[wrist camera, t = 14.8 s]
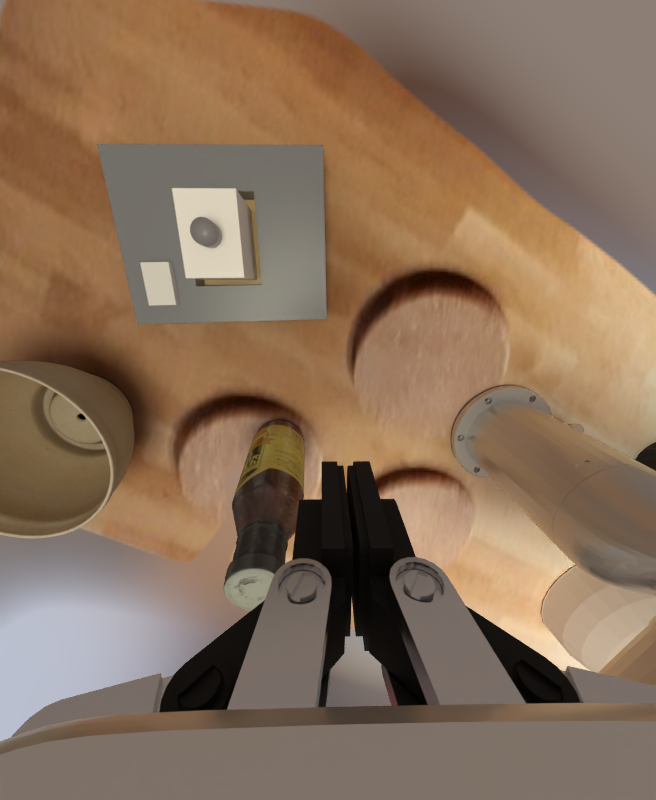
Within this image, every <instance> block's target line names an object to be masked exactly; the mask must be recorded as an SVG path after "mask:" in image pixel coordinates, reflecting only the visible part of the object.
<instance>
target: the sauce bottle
mask: <svg viewBox="0 0 656 800" xmlns="http://www.w3.org/2000/svg"><path fill="white" fill-rule="evenodd" d="M304 459H305V447H304V442H303V437H302V435H301V433H300V431H299V429H298V428H297V427H296V426H294V425H293V424H291V423H289V422H287V421H282V420H276V421H271V422H269V423H266V424H265V425H263V426H262V427H261V428H260V430H259V431H258V433H257V434H256V435H255V437H254V438H253V441H252V444H251V447H250V450H249V453H248V456H247V459H246V461H245V465H244V468H243V471H242V474H241V477H240V480H239V483H238V486H237V489H236V492H235V496H234V499H233V502H232V509H233V514H234V520H235V525H236V530H237V536H238V538H237V542H236V545H237V546H236V549H235V553H234V557H233V561H232V562H231V563H230V565H229V567H228V569H227V573H226V577H225V583H224V593H225V596H226V597H227V599H228V600H229V601H230V602H231V603H232V604H234V605H235V606H237V607H239V608H240V609H243V610H247V611H252V610H253V609H254V608H255V607H257V606H258V605H259V604H260V603H262V602H263V601H264V600H265V599H266V596H267V593H268V590H269V587H270V584H271V581H272V579H273V577H274V575H275V573H276V571H277V570H278V569H279V568H280V567H281V566H282V565H284V564H285V555H286V550H287V546H288V540H289V539H290V538H291V537H292V535H293V534H294V533H295V532H296V523H297V514H298V505H299V500H303V498H304Z"/></svg>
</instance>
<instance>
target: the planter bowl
mask: <svg viewBox="0 0 656 800" xmlns="http://www.w3.org/2000/svg"><path fill="white" fill-rule="evenodd" d="M79 414H83V415H84V416H85V418H86V419H85V420H82V419H80V418H79V417H78V415H79ZM133 448H134V427H133V413H132V409H131V406H130V404H129V402H128V400H127V399H126V397H125V396H124V394H123V393H122V392H121V391H120V390H119V389H118V388H117V387H116V386H114V385H113V384H112V383H110V382H109V381H107V380H105V379H103V378H101V377H98V376H95V375H92V374H89V373H86V372H84V371H81V370H79V369H75V368H72V367H69V366H65V365H60V364H56V363H49V362H41V361H27V360H15V361H1V362H0V535H5V536H11V537H18V538H47V537H53V536H58V535H62V534H66V533H69V532H72V531H74V530H76V529H78V528H80V527H82V526H84V525H85V524H87V523H88V522H89V521H91V520H92V519H93V518H94V517H96V516H97V514H98V513H99V512H100V511H101V510H102V509H103V508H104V506H105V505H106V504H107V502H108V501H109V499H110V497H111V496H112V493H113V492H114V491H115V489H116V488H117V486H118V485H119V484H120V482H121V480H122V479H123V477H124V475H125V473H126V471H127V469H128V466H129V464H130V461H131V458H132V454H133Z"/></svg>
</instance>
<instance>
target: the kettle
mask: <svg viewBox="0 0 656 800" xmlns="http://www.w3.org/2000/svg"><path fill="white" fill-rule="evenodd" d="M541 615H542V619H543V623H544V625H545V626H546V627H547V628H548V630H549V631H550V632H551V633H552V634H553V635H554V636H555V637H556V639H557V640H558V641H559V642H560V644H561V645H562V646H563V647H564V648H565V650H566V651H567V652H568V653H569V654H570V655H571V656H572V657H573V658H574V659H576V660H577V661H578V662H580V663H581V664H582V665H583V666H585V667H586V668H587V669H589V670H591V671H592V672H596V673H598V672H599V671H600V670H601V669H602V668H603V667H604V666H605V665H606V664H607V663H608V662H610V661H611V660H612V659H613V658H614V657H615V656H616V655H617V654H618V653H619V652H620V651H621V650H622V649H623V648H624V647H625V646H626V645H628V644H629V643H630V642H631V641H632V640H633V639H634V638H635V637H636V636H637V635H638V634H639V633H640V632H641V631H642V630H643V629H645V628H646V627H647V626H648V625H649V622H650V620H651V619H652V618H653V617H654V616H655V615H656V596H654V595H649V594H644V593H639V592H634V591H630V590H626V589H623V588H619V587H616V586H613V585H610V584H607V583H605V582H602V581H600V580H598V579H596V578H594V577H593V576H591V575H589V574H587V573H586V572H585V571H583V570H582V569H580V568H579V567H578V566H577V565H575V566H574V567H572V568H570V569H569V570H568V571H567V572H565V573H564V574H563V575H562V576H560V577H559V578H558V579H557V580H556V581H555V583H554V584H553V585H552V586H551V587H550V589H549V590H548V592H547V594H546V596H545V598H544V600H543V605H542V612H541Z"/></svg>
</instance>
